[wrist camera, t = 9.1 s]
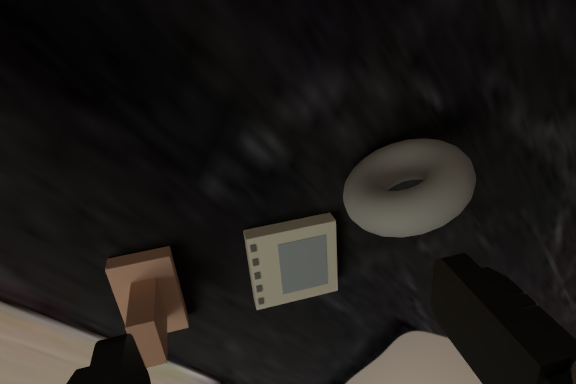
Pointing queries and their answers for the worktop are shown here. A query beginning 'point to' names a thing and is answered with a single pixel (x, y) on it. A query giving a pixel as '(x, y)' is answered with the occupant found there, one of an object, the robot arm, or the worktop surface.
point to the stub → (148, 299)
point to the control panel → (292, 260)
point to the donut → (414, 201)
